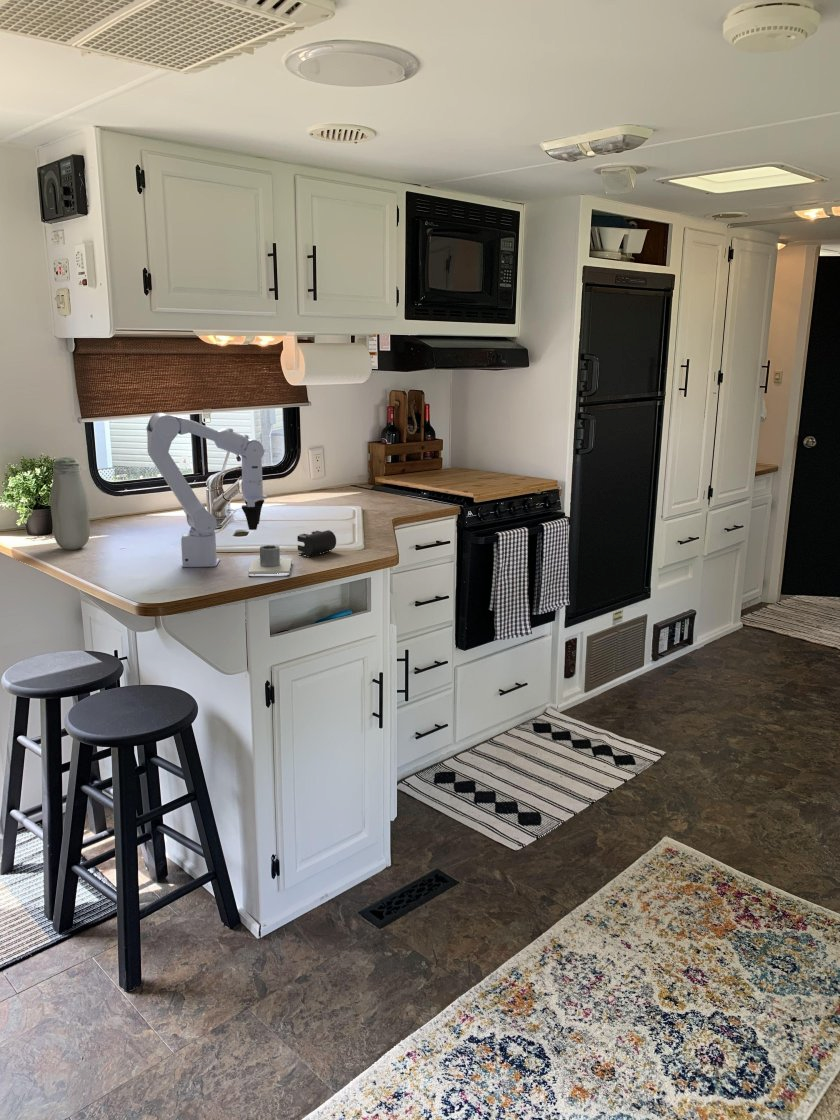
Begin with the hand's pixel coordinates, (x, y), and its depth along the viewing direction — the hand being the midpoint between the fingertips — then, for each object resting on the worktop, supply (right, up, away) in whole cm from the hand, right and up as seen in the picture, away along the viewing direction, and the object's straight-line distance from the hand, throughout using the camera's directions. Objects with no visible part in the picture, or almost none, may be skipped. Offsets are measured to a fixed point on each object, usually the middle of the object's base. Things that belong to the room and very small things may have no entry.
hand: (254, 526), depth 248 cm
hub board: (+7, -12, -11) cm, 18 cm away
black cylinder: (+17, -8, +8) cm, 21 cm away
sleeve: (+7, -11, -11) cm, 17 cm away
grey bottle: (-57, -6, +11) cm, 59 cm away
